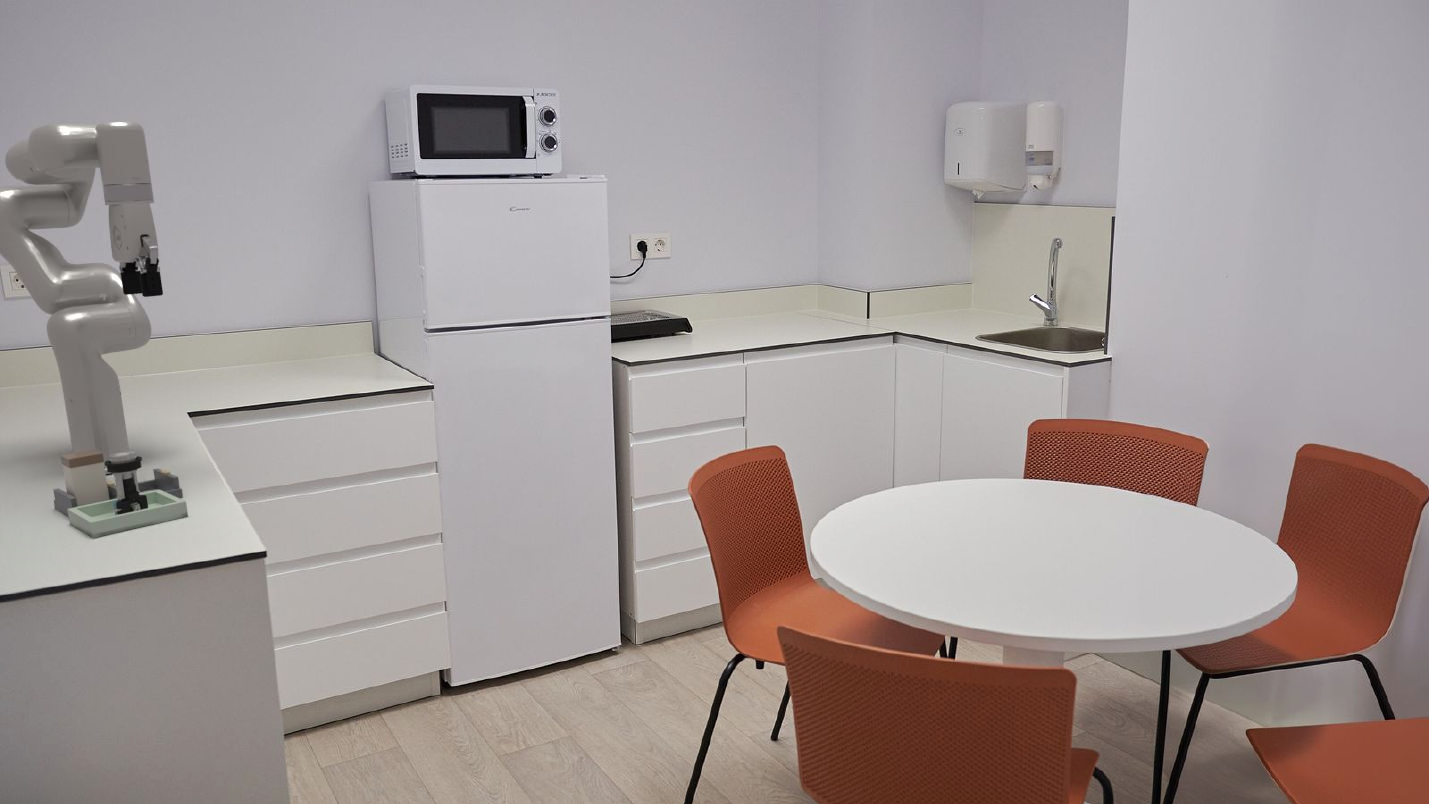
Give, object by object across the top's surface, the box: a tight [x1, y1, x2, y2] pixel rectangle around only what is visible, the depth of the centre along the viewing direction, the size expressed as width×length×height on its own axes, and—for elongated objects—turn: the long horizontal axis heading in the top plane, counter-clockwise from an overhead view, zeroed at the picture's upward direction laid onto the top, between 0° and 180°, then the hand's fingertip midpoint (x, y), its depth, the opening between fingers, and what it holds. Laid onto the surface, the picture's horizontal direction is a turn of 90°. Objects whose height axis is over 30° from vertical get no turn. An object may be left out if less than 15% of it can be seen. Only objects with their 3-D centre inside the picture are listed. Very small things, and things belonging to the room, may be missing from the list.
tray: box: [67, 489, 189, 539], centre depth 176 cm, size 12×14×2 cm
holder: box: [52, 468, 184, 517], centre depth 187 cm, size 12×17×4 cm
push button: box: [105, 451, 148, 516], centre depth 176 cm, size 7×5×10 cm
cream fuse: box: [60, 450, 110, 507], centre depth 183 cm, size 5×5×10 cm
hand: (143, 294), depth 192 cm, fingers open, 9 cm apart
